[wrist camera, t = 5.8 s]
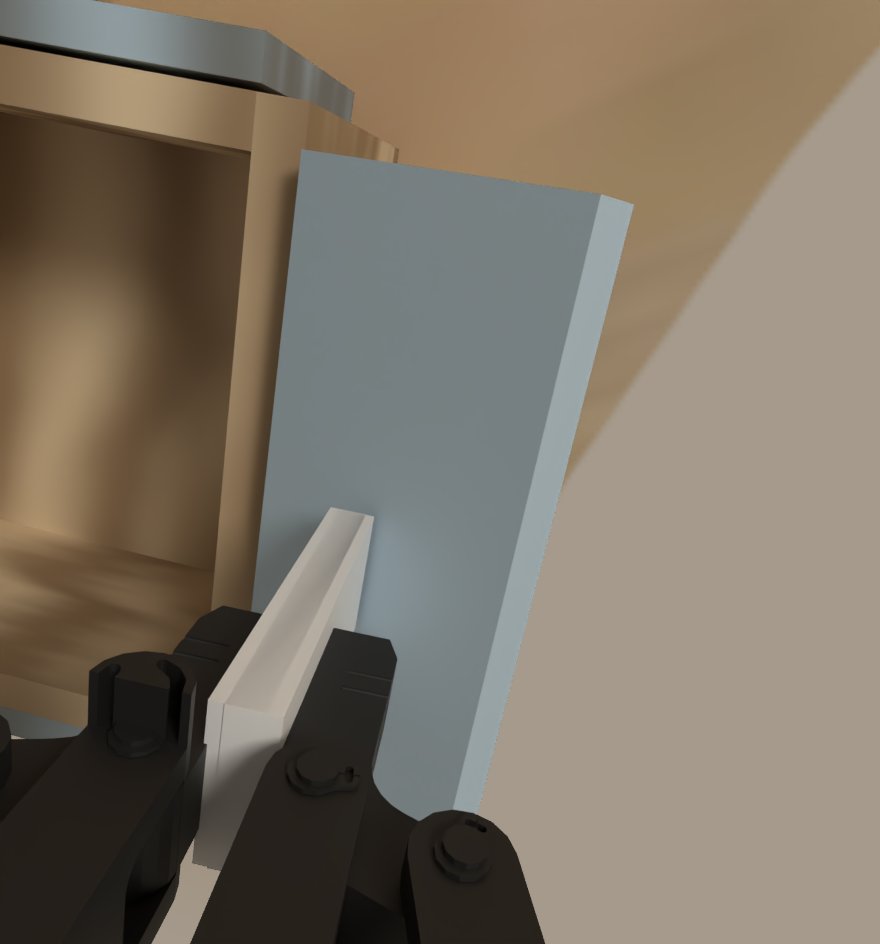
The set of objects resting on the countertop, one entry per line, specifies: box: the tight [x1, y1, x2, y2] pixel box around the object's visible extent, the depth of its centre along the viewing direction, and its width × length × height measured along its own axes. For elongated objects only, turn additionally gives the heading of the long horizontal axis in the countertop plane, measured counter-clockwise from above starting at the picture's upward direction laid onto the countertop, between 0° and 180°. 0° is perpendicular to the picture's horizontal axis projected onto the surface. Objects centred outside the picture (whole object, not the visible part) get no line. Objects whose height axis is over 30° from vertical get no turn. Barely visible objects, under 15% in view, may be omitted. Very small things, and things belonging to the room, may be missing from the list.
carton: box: [0, 0, 399, 739], centre depth 23 cm, size 16×20×9 cm
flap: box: [251, 149, 634, 821], centre depth 16 cm, size 1×16×7 cm
